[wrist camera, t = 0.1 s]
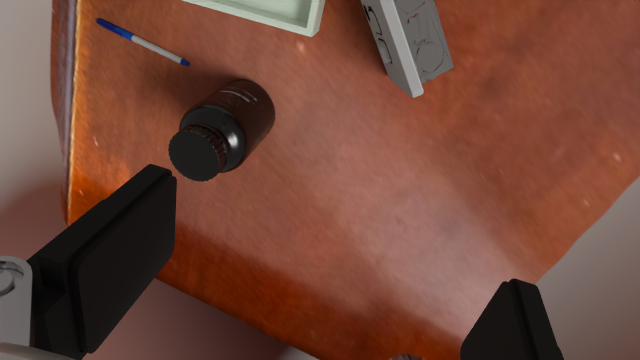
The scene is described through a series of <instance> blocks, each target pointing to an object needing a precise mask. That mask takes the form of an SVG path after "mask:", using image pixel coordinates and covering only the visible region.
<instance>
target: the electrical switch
mask: <svg viewBox="0 0 640 360" xmlns="http://www.w3.org/2000/svg"><path fill="white" fill-rule="evenodd" d="M360 1H361V3H362V6H363V9H364V11H365V14H366V17H367V20H368V22H369V25H370V28H371V30H372V33H373V36H374V39H375V41H376V44H377V47H378V50H379V52H380V55H381V58H382V60H383V63H384V66H385V69H386V71H387V74H388V76H389V78H390V80H391V81H392V82H393V83H395V84H396V85H397V86H398V87H399V88H401V89H402V90H403V91H404V92H406V93H407V94H408V95H409V96H410V97H412V98H414V97H417V96H420V95H422V94H423V92H424V91H423V88H422V85H421V84H423V83H425V82H427V81H430V80H433V79H434V78H435V77H437V76H438V75H440V74H442V73H444V72H446V71H449V70H451V69H453V68H454V66H453V63H452V59H451V56H450V53H449V49H448V46H447V43H446V39H445V36H444V33H443V29H442V26H441V22H440V19H439V16H438V12H437V9H436V6H435V2H434V0H360ZM417 13H418V15H417V16H416V17H415V18H413V17H412V16H414V15H416V14H417ZM426 38H427V39H426ZM422 39H425V40H423V41H422ZM429 42H430V43H429ZM443 50H444V51H443Z"/></svg>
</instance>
